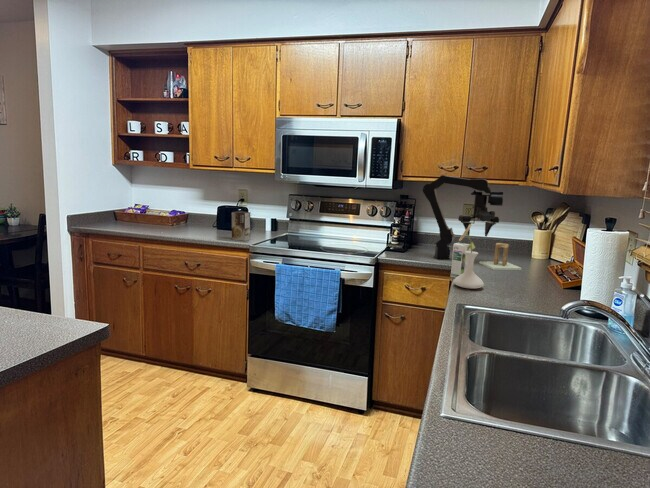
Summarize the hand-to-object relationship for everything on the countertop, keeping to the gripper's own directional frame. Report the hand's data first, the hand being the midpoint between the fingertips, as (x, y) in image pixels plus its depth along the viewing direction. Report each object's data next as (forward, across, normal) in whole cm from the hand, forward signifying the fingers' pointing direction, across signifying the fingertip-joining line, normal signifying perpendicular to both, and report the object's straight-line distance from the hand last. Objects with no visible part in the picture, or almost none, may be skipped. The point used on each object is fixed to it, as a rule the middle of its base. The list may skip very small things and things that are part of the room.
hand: (477, 236), depth 227 cm
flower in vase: (+13, -26, -48) cm, 56 cm away
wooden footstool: (+12, +8, -10) cm, 18 cm away
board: (+13, +8, -10) cm, 18 cm away
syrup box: (+13, -22, -32) cm, 41 cm away
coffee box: (+13, -117, +55) cm, 130 cm away
